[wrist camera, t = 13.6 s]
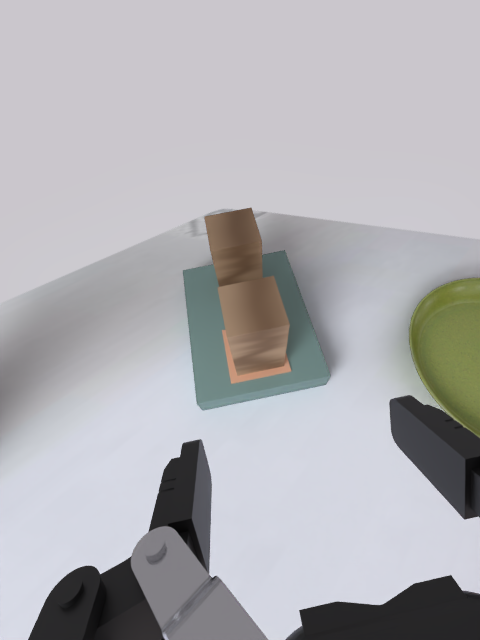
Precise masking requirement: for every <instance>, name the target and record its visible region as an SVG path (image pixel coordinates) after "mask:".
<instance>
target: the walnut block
mask: <svg viewBox="0 0 480 640" xmlns="http://www.w3.org/2000/svg"><path fill="white" fill-rule="evenodd" d="M217 288H218V293H219V298H220V303H221V309H222V314H223V319H224V324H225V330H226V335H227V340H228V343H229V347H230V351H231V354H232V358H233V362H234V365H235V369H236V373H237V376H240V375H245V374H249V373H254V372H259V371H263V370H268V369H273V368H277V367H282V366H284V361H285V354H286V348H287V341H288V334H289V327H290V324H289V320H288V317H287V314H286V311H285V308H284V305H283V302H282V299H281V296H280V293H279V290H278V287H277V284H276V281H275V278H274V276H270V277H265V278H260V279H255V280H250V281H246V282H241V283H236V284H231V285H226V286H221V287H217Z"/></svg>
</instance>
